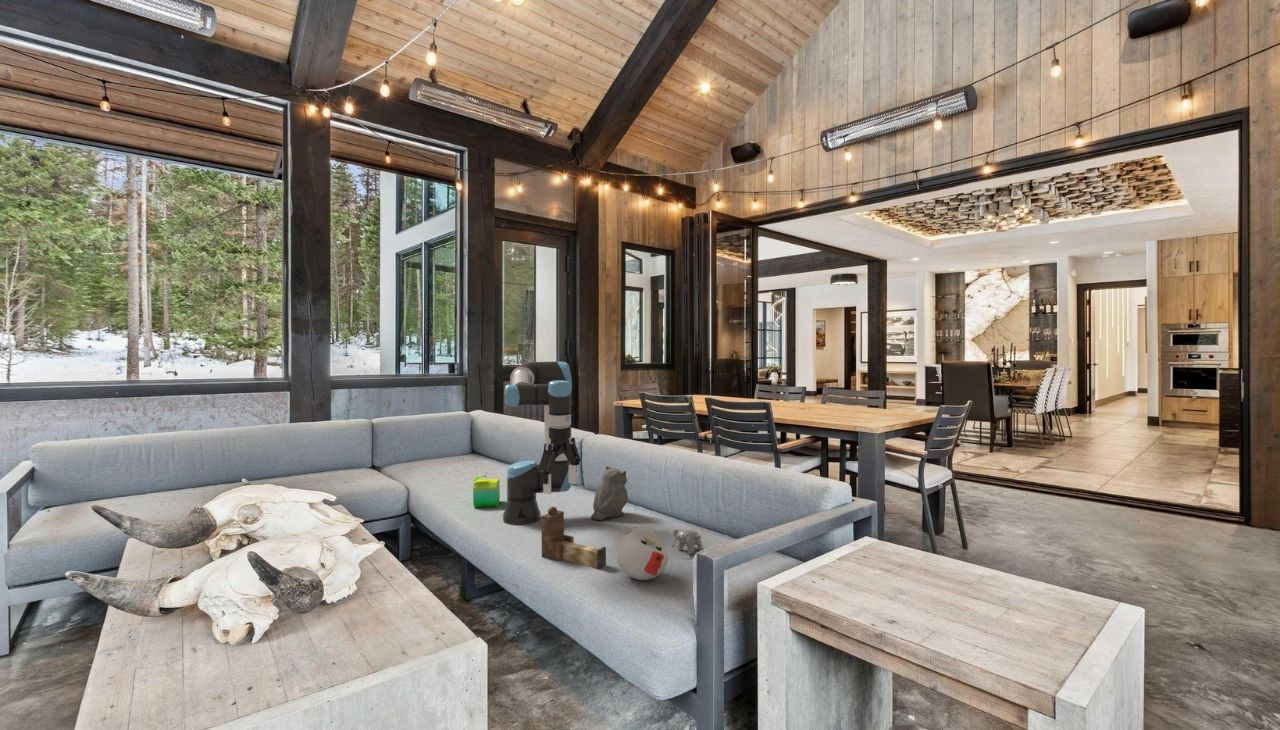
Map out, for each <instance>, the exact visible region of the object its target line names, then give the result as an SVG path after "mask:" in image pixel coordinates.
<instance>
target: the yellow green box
mask: <svg viewBox="0 0 1280 730" xmlns="http://www.w3.org/2000/svg"><path fill="white" fill-rule="evenodd" d="M485 473H486V474H485V475H481V476H476V477H474V479H473V487H472V488H473V489H472V492H473V493H472V499H473V500H472V501H473V508H488V507H489V508H490V507H491V508H493V507H494V508H495V507H498V505H499V503H500V497H501V496H500V492H501V491H500V489H501V487H500V486H501V485H500V482H501V481H500V478H487V477H488V476H487V473H488V472H487V471H486V472H485Z"/></svg>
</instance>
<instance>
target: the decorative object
mask: <svg viewBox="0 0 1280 730" xmlns="http://www.w3.org/2000/svg"><path fill="white" fill-rule="evenodd" d="M662 542H663V541H662V540H661V538H659V536H658V535H657V534H656V533H655V532H654V531H653V530H652V529H650V528H647V527H644V526H643V527H642V526H637V527H634V528H631V529H629V530H627V531H626V532H625V533H624V534H623V535H622V536H621V537H620V539H619V541H618V543H617V547H616V553H615V554H616V560H617V563H618V565H619V567H620V568H621V570H622V571H623V572H624V573H625V574H626V575H627V576H629V577H631V578H632V579H635V580H639V581H649V580H652V579H655V578H656V577H658V576H660V574H662V572H663V571H664V570H665V569H666V567H667V564H668V561H669V555H668V553H667V551H666V548H665V546H664V544H663V543H662Z"/></svg>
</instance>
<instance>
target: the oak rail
mask: <svg viewBox="0 0 1280 730" xmlns="http://www.w3.org/2000/svg"><path fill="white" fill-rule="evenodd" d="M555 541H557V542H561V560H565V561H569V562H572V563H575V564H580V565H583V566H587V567H592V568H595V569H596V570H600V569H602V568H604V567H605V566H607V548H606V546H602V547H600V548H596V547H591V546H588V545H584V544H579V543H575V542H574V543H572V542H567V541H565V537H562V538H560V539H557V540H555Z"/></svg>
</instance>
